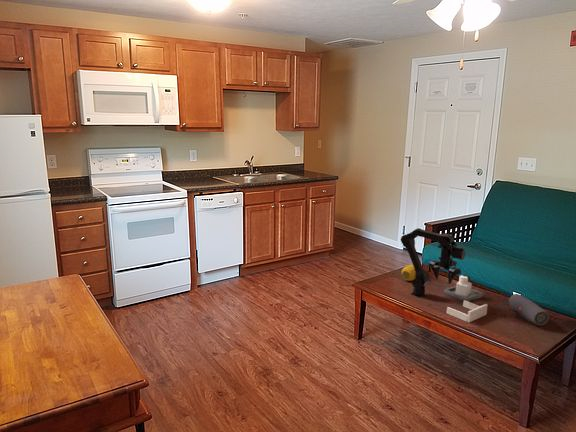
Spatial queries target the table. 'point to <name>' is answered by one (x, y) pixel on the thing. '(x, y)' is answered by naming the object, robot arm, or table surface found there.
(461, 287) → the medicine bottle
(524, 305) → the bluetooth speaker
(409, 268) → the lantern
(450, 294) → the tray
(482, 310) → the bay
